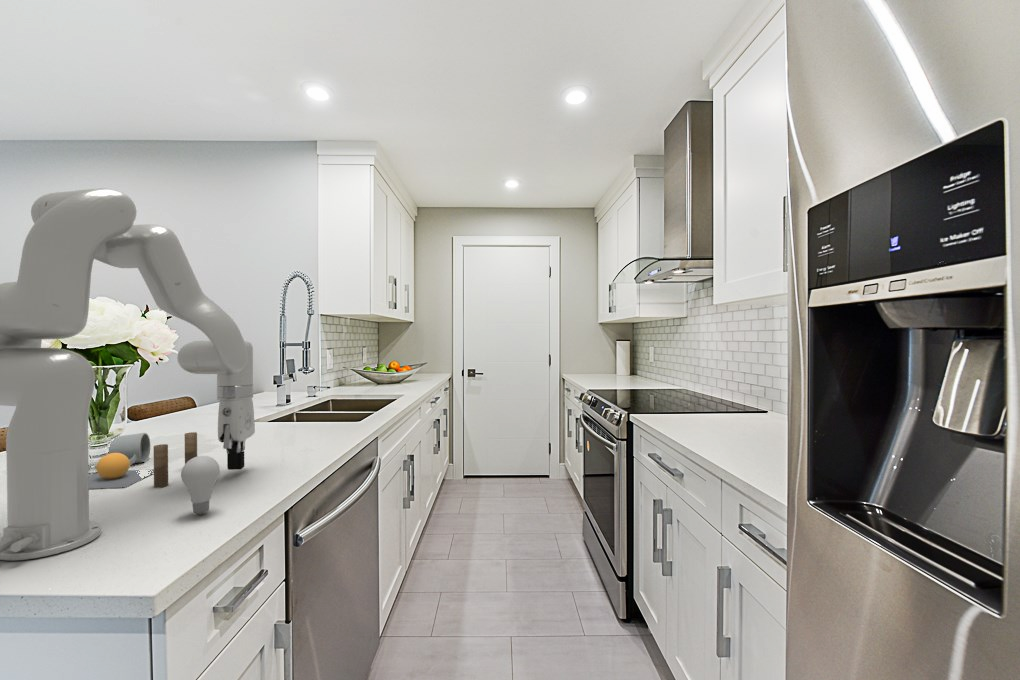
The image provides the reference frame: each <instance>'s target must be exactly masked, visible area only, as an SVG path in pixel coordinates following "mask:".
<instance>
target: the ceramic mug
mask: <svg viewBox="0 0 1020 680" xmlns="http://www.w3.org/2000/svg"><path fill="white" fill-rule="evenodd" d="M118 436H119V437H117V436H116V437H117V438H115V439H114V440H113V441H112V442H111V444H110V447H109V454H110V453H121V454H124V455H125V456H127V457H128V459H129V461H130V466H132V465H134V464H143V463H142V462H144V463H146V462H147V461H148V460H149V457H150V454H151V439H150V435H149V434H148V433H146V432H141V433H140V432H139V433H133V434H127V435H126V434H125V435H118ZM145 461H146V462H145ZM130 466H129V467H130Z"/></svg>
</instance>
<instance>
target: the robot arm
mask: <svg viewBox="0 0 1020 680" xmlns="http://www.w3.org/2000/svg"><path fill="white" fill-rule="evenodd" d="M137 211H138V210H137V206H136V204H135V202H134V201H133V200H132V198H131V197H129V196H128V195H127V194H126V193H124V192H122V191H119V190H116V189H111V188H103V187H102V188H100V187H99V188H89V189H78V190H69V191H57V192H49V193H47V194H43V195H42V196H40V197H38V198H37V199H36V200H35V201H34V202H33V204H32V206H31V209H30V216H31V220H32V221H33V225H32V227H31V228H30V229H29V231H28V234H27V235H26V238H25V240H24V243H23V246H22V251H21V252H22V253H21V259H20V262H19V263H20V264H19V270H18V276H17V280H16V281H12V282H10V281H9V282H3V283H0V406H3V407H4V406H7V407H8V406H9V407H15V409H14V412H13V414H12V416H11V419H10V421H9V424H8V427H7V432H6V438H5V439H6V440H5V441H6V442H5V446H6V447H5V449H6V450H5V453H6V454H5V455H6V501H7V503H6V505H7V507H6V508H7V526H6V527H4V528H3V529H2V531H3V533H2V534H3V535H2V536H1V537H0V560H1V561H25V560H32V559H38V558H43V557H48V556H53V555H56V554H61V553H65V552H67V551H70V550H74V549H77V548H79V547H82V546H84V545H86V544H88V543H90V542H92V541H95V539H97V538H98V537H99V536H100V535H102V534H101V533H102V525H101V524H100V523H98V522H96V521H90V494H89V493H90V489H89V473H90V471H89V468H90V467H89V415H90V407H91V402H92V397H93V393H94V389H95V384H96V383H95V382H96V373H95V370H94V368H93V365H92V364H91V363H90V362H89V360H88V359H87V358H86V357H85V356H83V355H81V354H80V353H77V352H75V351H73V350H70V349H65V348H59V347H58V348H57V347H42V340H63V339H64V340H65V339H69V338H73V337H75V336H77V335H79V334H80V333H82V331H84V329H85V327H86V326H87V322H88V317H89V309H90V308H89V307H90V294H91V283H92V282H91V279H92V271H93V270H92V269H93V264H94V260H96V261H98V262H101V263H103V264H105V265H109V266H112V267H114V268H118V269H137V270H138V271H139V273H140V275H141V277H142V279H143V280H144V282H145V285H146V286H147V288H148V290H149V293H150V294H151V296H152V298H153V300H154V303H155V305H156V306H157V307H158V308H159V309H160V310H162V311H163V312H165V313H167V314H169V315H171V316H172V317H175V318H177V319H180V320H183V321H184V322H187V323H188V324H191V325H192V326H194V327H195V328H197V329H198V330H199V331H201V332H202V333H203V334H204V335H205V336H206V337H207V338H208V340H194V341H190V342H188V343H186V344H184V345H183V346H182V347H181V348H180V349H179V350H178V353H177V362H178V365H179V367H180V368H181V369H183V370H184V371H185V372H188V373H190V374H194V375H216V400H217V401H219V403H218V411H217V412H218V414H217V440H218V441H219V442H220V443H223V444H222V445H223V447H222V448H223V449H224V450H225V449H226V455H227V464H226V465H227V470H228V471H232V470H233V471H235V470H236V471H237V470H242V469H243V468H245V449H246V440H248V439H249V438H251V437H252V436H253V435H254V434H255V432H256V429H255V412H254V411H255V409H254V402H253V399H254V350H253V349H254V348H253V345H252V343H251V342H249V341H247V340H244V337H243V335H242V333H241V331H240V329H239V327H238V324H237V323H236V322H235V321H234V319H233V318H232V317H231V316H230V315H229V314H228V312H226V311H225V310H223V309H222V308H221V307H220V306H219V305H218V304H217V303H215V302H214V300H212V299H211V298H209V297H208V296H207V295H206V294H205V293H204V291H203V290H202V287H201V285H200V284H199V281H198V280H197V279H198V278H197V277H196V275H195V273H194V271H193V268H192V266H191V264H190V263H189V259H188V258H187V256H186V255H187V254H186V253H185V250H184V249H183V247H182V244H181V242H180V239H179V238H178V236H177V235H176V233H175V232H174V231H173V230H171V229H170V228H169V227H166V226H164V225H158V224H135V223H136V219H137Z"/></svg>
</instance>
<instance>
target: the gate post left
mask: <svg viewBox="0 0 1020 680" xmlns="http://www.w3.org/2000/svg"><path fill="white" fill-rule="evenodd" d="M153 469H154V474H153V488H155V487H161V488H164V487H163V486H165V487H168V486H169V445H168V444H167V443H166V444H165V443H163V444H156V445H154V446H153ZM167 485H168V486H167Z"/></svg>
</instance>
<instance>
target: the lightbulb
mask: <svg viewBox="0 0 1020 680" xmlns="http://www.w3.org/2000/svg"><path fill="white" fill-rule="evenodd" d="M220 468H221V467H220V464H219V463H218V461H217V460H216V459H214V457H211V456H208V455H197V457H194V458H192V459H191V460H189V461H188V462H187V463H186V464H185V463H184V465H183V467H182V469H181V473H180V478H181V482H182V483H183V484H184V486H185V487H186V488H187V490H188V492H189V496H190V502H191V503H192V512H193V513H194V514H196V515H199V516H200V515H201V516H202V515H204V514H205V513H206V512H208V511H209V510H210V499H211V498H212V490H213V487H214V485H215V483H216V482H217V480H218V477H219V476H220V471H221V470H220Z"/></svg>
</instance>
